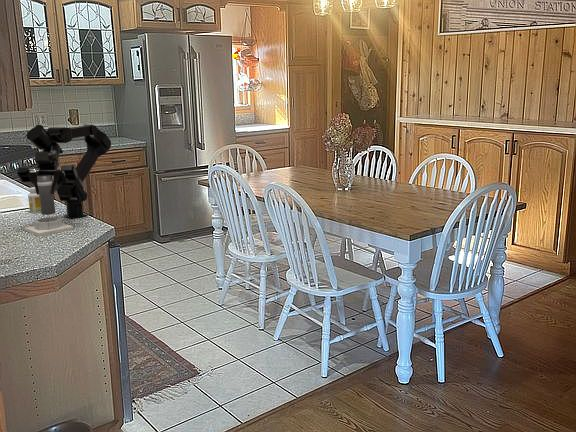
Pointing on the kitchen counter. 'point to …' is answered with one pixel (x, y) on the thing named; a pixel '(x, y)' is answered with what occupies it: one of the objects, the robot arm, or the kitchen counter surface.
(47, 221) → the collar mount
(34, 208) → the supplement bottle
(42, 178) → the dark grey capped cylinder
